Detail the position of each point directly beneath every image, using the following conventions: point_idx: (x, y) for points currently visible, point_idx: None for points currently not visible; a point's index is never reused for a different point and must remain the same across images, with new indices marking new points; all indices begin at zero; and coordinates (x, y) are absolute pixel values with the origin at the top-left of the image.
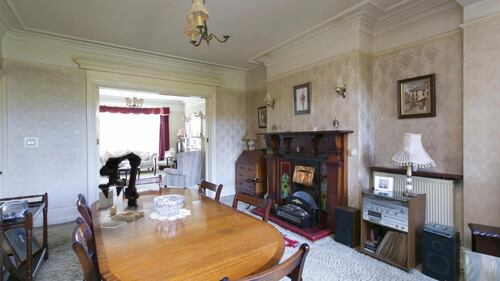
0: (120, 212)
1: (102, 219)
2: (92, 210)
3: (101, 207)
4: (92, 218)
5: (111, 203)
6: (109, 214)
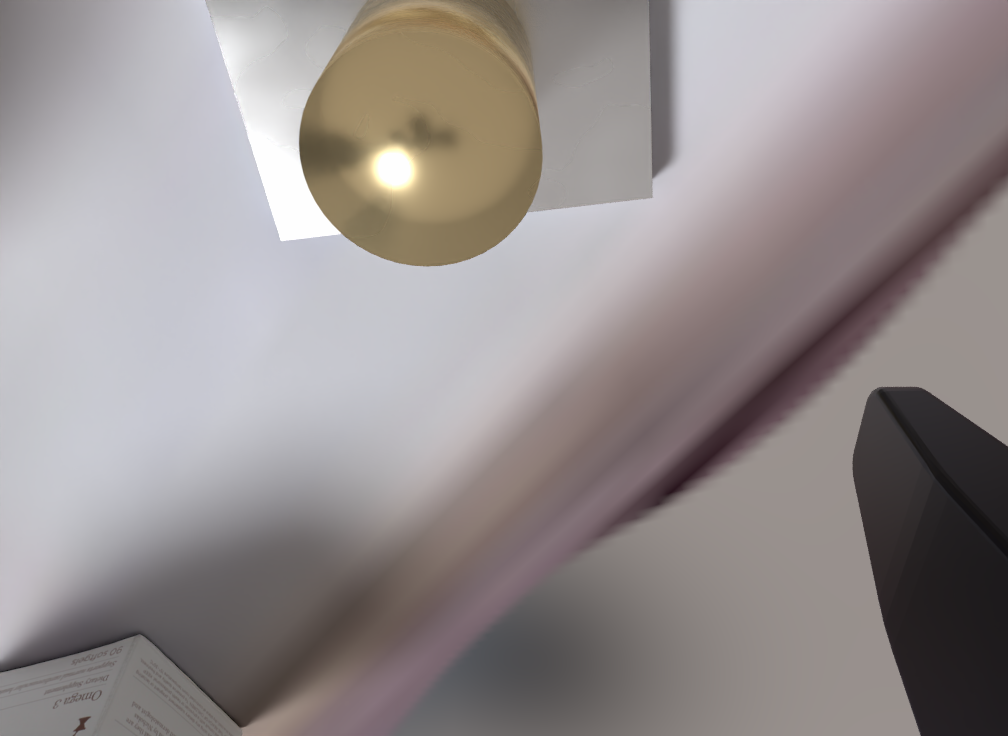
0: (210, 7)
1: (834, 31)
2: (394, 707)
3: (218, 712)
4: (796, 345)
5: (17, 709)
6: None
